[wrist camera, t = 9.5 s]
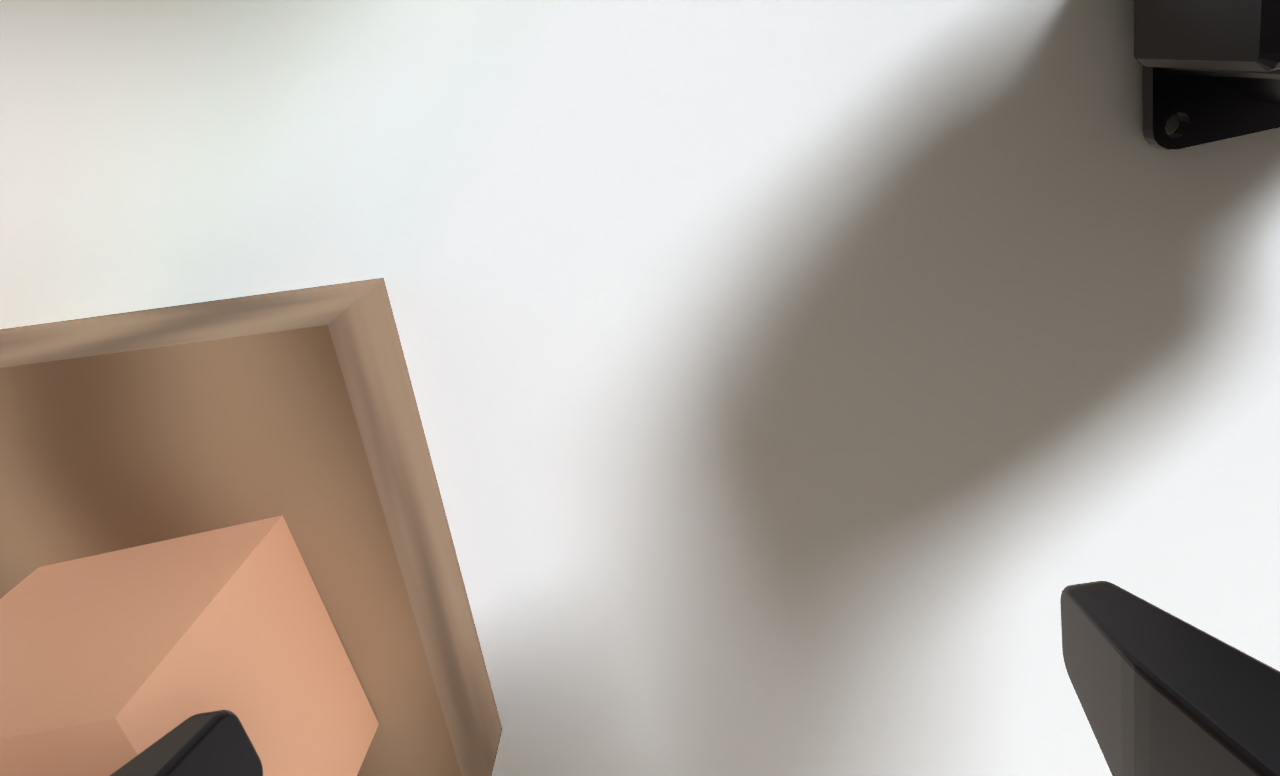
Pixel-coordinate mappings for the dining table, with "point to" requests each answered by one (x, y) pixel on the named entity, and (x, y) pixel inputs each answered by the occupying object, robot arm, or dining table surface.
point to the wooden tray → (259, 481)
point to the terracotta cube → (177, 657)
